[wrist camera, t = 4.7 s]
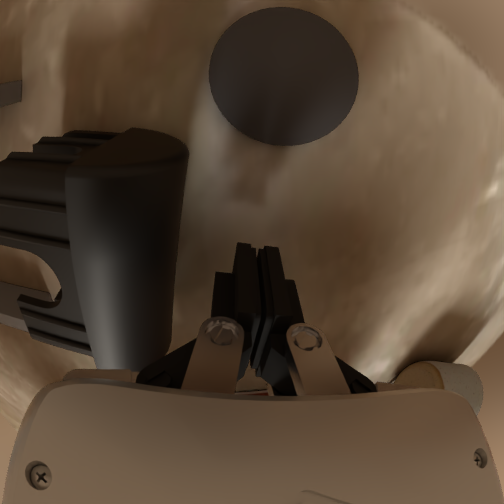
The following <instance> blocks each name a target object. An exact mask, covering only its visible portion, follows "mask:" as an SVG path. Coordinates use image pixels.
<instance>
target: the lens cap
mask: <svg viewBox="0 0 504 504" xmlns="http://www.w3.org/2000/svg"><path fill="white" fill-rule="evenodd" d="M209 82H210V87H211V92H212V95H213V98H214V100H215V102H216V104H217V106H218V108H219V110H220V111H221V113H222V114H223V115H224V117H225V118H226V119H227V120H228V121H229V122H230V123H231V124H232V125H233V126H234V127H235V128H236V129H238V130H239V131H241V132H242V133H244V134H245V135H247V136H249V137H251V138H253V139H255V140H258V141H261V142H264V143H268V144H272V145H280V146H293V145H301V144H305V143H309V142H312V141H315V140H317V139H320V138H321V137H323V136H325V135H327V134H328V133H330V132H331V131H333V130H334V129H335V128H336V127H337V126H338V125H339V124H341V122H342V121H343V120H344V119H345V118H346V116H347V115H348V113H349V112H350V110H351V108H352V106H353V104H354V101H355V98H356V95H357V90H358V67H357V63H356V59H355V56H354V54H353V52H352V49H351V48H350V46H349V44H348V42H347V41H346V40H345V38H344V37H343V36H342V34H341V33H340V32H339V31H338V30H337V29H336V28H335V27H334V26H332V25H331V24H330V23H328V22H327V21H326V20H324V19H322V18H321V17H319V16H317V15H315V14H312V13H310V12H307V11H304V10H300V9H295V8H287V7H276V8H267V9H263V10H259V11H256V12H253V13H250V14H248V15H246V16H244V17H243V18H241V19H239V20H238V21H237V22H235V23H234V24H233V25H231V26H230V27H229V28H228V29H227V30H226V31H225V33H224V34H223V35H222V36H221V38H220V39H219V41H218V43H217V44H216V46H215V48H214V51H213V53H212V57H211V61H210V67H209Z"/></svg>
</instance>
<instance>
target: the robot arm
mask: <svg viewBox="0 0 504 504" xmlns="http://www.w3.org/2000/svg"><path fill="white" fill-rule="evenodd" d="M249 359H250V366H251V368H254V369H255V372H256V377H261V378H263V379H264V380H265V381H266V382H267V391H268V395H269V396H260V395H239V394H235V388H236V382H237V381H238V380H239V379H241V378H242V377H243V376H244V374H245V370H246V368H247V366H248V363H249ZM2 504H504V498H503V493H502V489H501V484H500V480H499V476H498V473H497V469H496V466H495V463H494V460H493V456H492V453H491V450H490V447H489V444H488V442H487V439H486V436H485V434H484V431H483V429H482V426H481V424H480V422H479V420H478V418H477V416H476V414H475V412H474V410H473V408H472V407H471V405H470V404H469V402H468V401H467V400H466V399H465V398H464V397H463V396H461V395H459V394H457V393H455V392H452V391H448V390H444V389H436V388H419V387H416V386H408V385H399V384H391V383H384V382H376V384H373V382H372V381H371V380H370V379H368V378H367V377H366V376H364V375H363V374H361V373H360V372H358V371H357V370H355V369H354V368H352V367H351V366H349V365H348V364H346V363H345V362H343V361H342V360H340V359H339V358H338V357H336V356H335V355H334V354H333V352H332V350H331V347H330V345H329V343H328V341H327V339H326V337H325V335H324V334H323V332H322V331H321V330H320V329H318V328H317V327H315V326H313V325H310V324H307V323H305V322H304V318H303V314H302V309H301V305H300V301H299V297H298V293H297V289H296V284H295V281H294V280H288V279H285V276H284V272H283V267H282V262H281V257H280V253H279V248H278V247H272V246H264V249H259V251H258V255H257V257H256V248H251V244H247V243H239V242H238V243H237V247H236V253H235V259H234V265H233V271H232V273H224V272H216V273H215V281H214V290H213V299H212V310H211V318H210V319H207V320H206V321H205V322H204V323H203V324H202V326H201V327H200V331H199V334H198V337H197V338H196V339H194V340H192V341H190V342H189V343H187V344H185V345H183V346H182V347H180V348H178V349H177V350H175V351H173V352H171V353H169V354H168V355H166V356H164V357H162V358H161V359H159V360H157V361H155V362H153V363H152V364H150V365H148V366H146V367H145V368H143V369H142V370H141V371H140V372H131V370H130V369H75V370H72V371H70V372H68V373H67V374H66V375H65V376H64V378H63V381H59V382H55V383H52V384H49V385H47V386H45V387H44V388H42V389H41V390H40V391H39V392H38V393H37V394H36V396H35V397H34V399H33V400H32V402H31V403H30V405H29V407H28V409H27V411H26V413H25V415H24V418H23V420H22V423H21V425H20V428H19V431H18V434H17V437H16V441H15V444H14V447H13V451H12V454H11V458H10V463H9V467H8V472H7V477H6V482H5V488H4V494H3V501H2Z"/></svg>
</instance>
